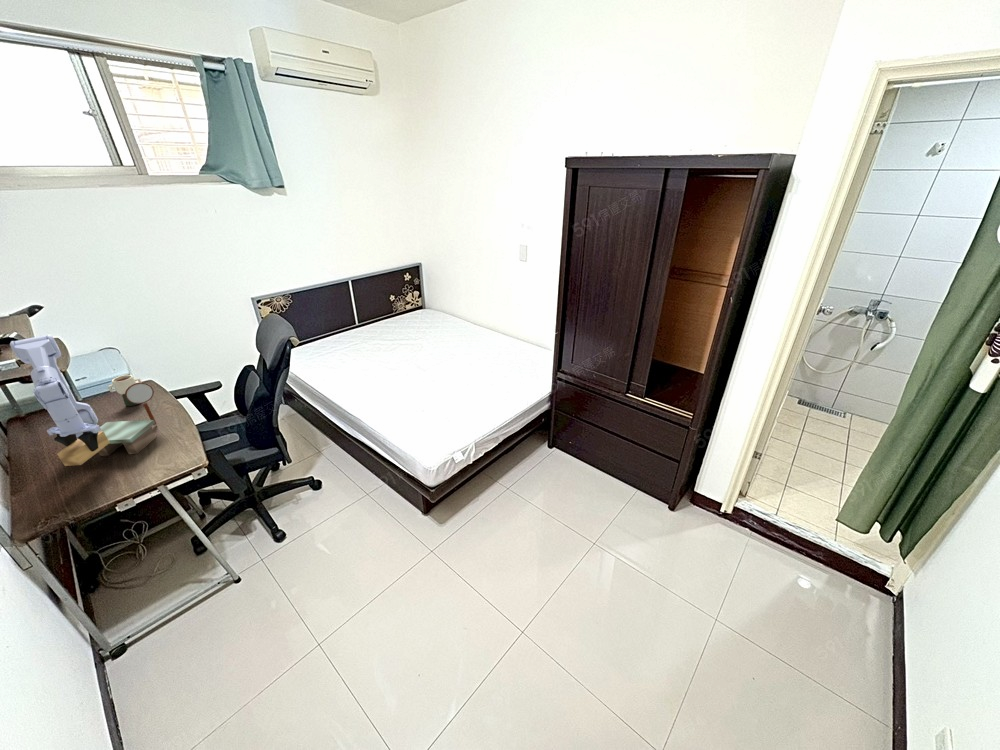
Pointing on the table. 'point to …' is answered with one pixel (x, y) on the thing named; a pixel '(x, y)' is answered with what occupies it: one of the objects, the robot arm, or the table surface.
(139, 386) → the magnifying glass
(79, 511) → the table surface
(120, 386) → the character mug
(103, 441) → the peg
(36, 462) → the table surface
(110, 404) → the table surface
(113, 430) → the socket shed
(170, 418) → the table surface
